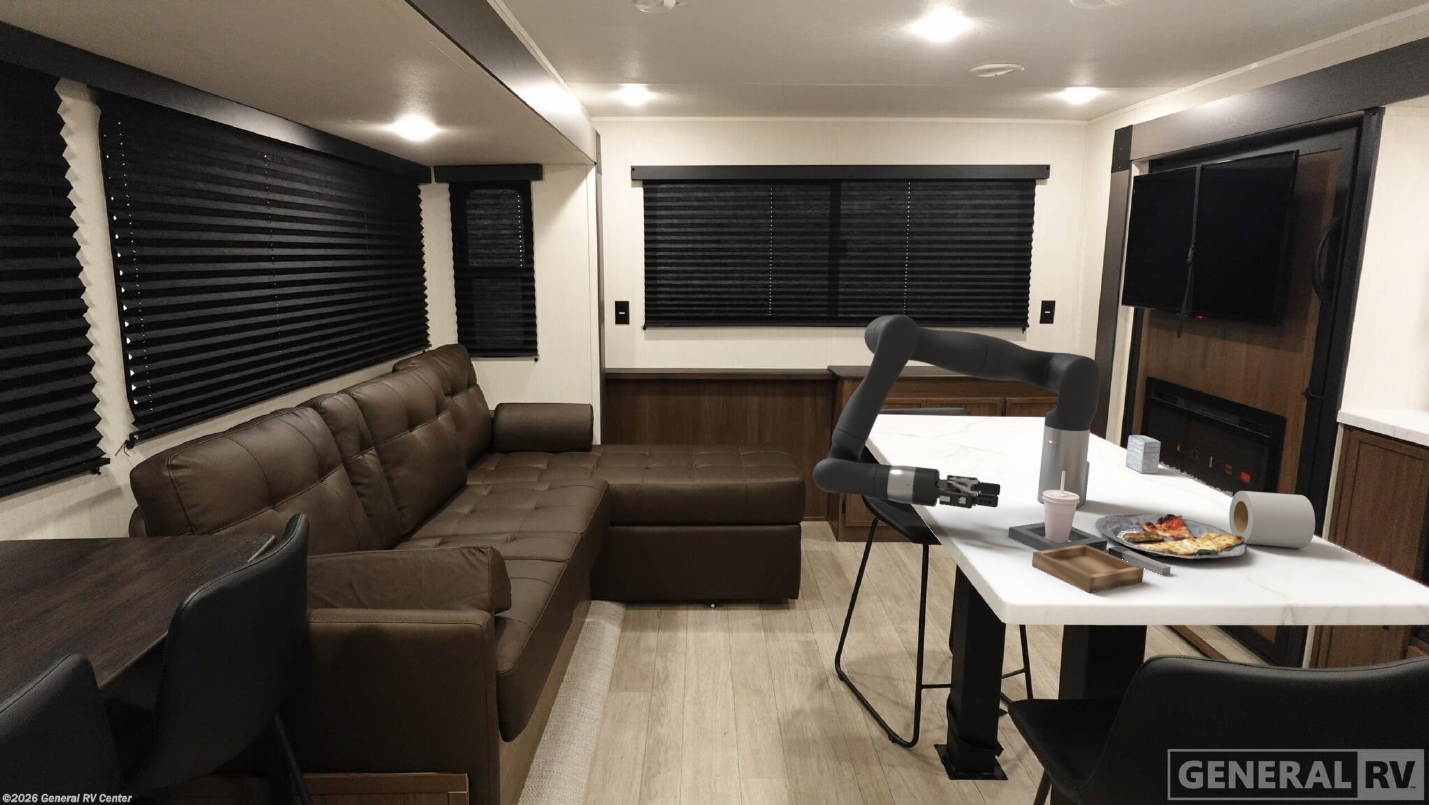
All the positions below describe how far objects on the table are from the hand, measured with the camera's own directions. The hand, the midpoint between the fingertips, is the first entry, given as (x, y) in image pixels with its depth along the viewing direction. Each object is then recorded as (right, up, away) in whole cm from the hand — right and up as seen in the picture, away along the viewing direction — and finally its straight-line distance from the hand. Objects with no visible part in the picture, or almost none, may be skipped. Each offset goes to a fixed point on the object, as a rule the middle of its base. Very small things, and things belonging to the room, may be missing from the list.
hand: (999, 495), depth 147 cm
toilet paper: (+51, -9, 0) cm, 52 cm away
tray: (+8, -11, -17) cm, 22 cm away
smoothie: (+10, -9, -3) cm, 14 cm away
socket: (+10, -9, -3) cm, 13 cm away
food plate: (+32, -9, -1) cm, 33 cm away
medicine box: (+58, 0, +54) cm, 79 cm away
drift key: (+20, -11, -12) cm, 26 cm away
